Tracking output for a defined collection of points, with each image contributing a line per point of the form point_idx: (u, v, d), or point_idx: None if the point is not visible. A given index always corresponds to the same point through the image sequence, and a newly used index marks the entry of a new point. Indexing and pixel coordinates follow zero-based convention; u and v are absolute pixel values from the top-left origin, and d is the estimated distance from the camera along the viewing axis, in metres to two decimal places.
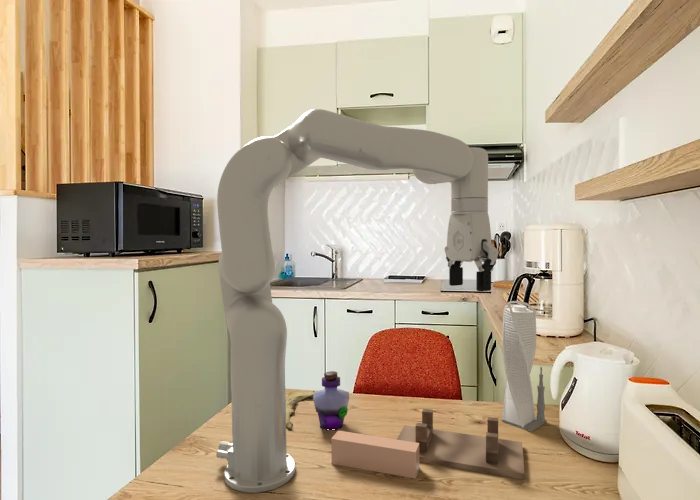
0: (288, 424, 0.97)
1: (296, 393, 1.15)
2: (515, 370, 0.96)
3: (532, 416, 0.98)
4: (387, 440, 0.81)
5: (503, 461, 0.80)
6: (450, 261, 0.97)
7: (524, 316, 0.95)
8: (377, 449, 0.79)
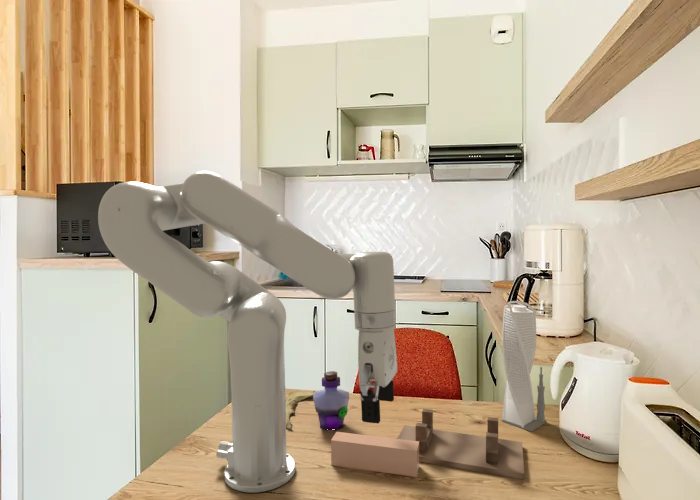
0: (288, 425, 0.97)
1: (296, 393, 1.15)
2: (515, 370, 0.96)
3: (532, 416, 0.98)
4: (387, 440, 0.81)
5: (503, 461, 0.80)
6: (377, 392, 0.75)
7: (524, 316, 0.95)
8: (378, 449, 0.79)
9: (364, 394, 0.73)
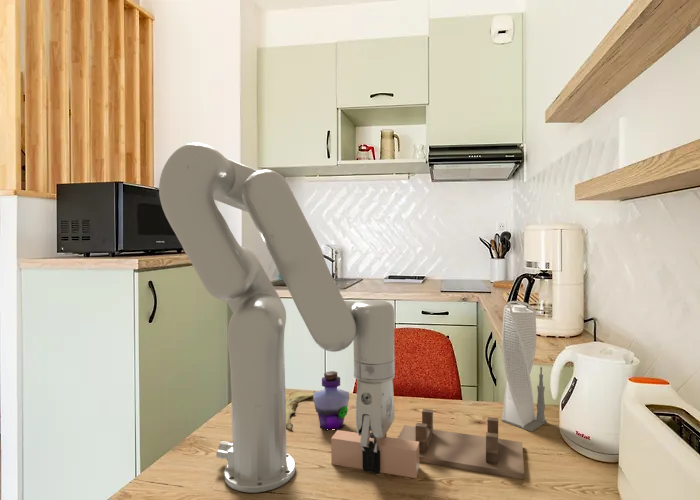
0: (288, 425, 0.97)
1: (297, 393, 1.14)
2: (515, 370, 0.96)
3: (532, 416, 0.98)
4: (387, 439, 0.81)
5: (503, 461, 0.80)
6: (377, 444, 0.78)
7: (524, 316, 0.95)
8: None
9: (366, 447, 0.76)
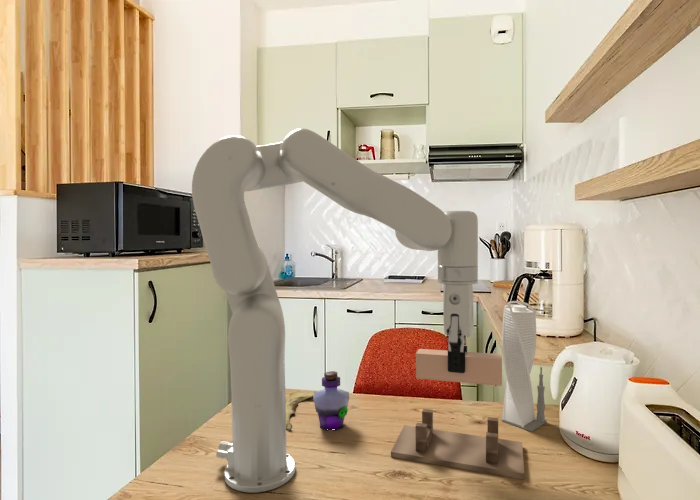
0: (287, 425, 0.96)
1: (297, 394, 1.14)
2: (515, 370, 0.96)
3: (532, 416, 0.98)
4: (470, 353, 0.85)
5: (503, 461, 0.80)
6: (463, 344, 0.82)
7: (524, 316, 0.95)
8: None
9: (454, 346, 0.80)
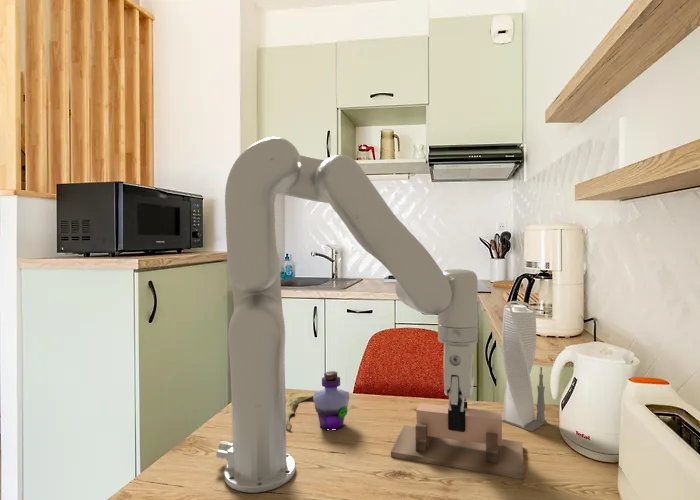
0: (287, 426, 0.96)
1: (297, 394, 1.14)
2: (515, 370, 0.96)
3: (532, 416, 0.98)
4: (470, 410, 0.85)
5: (503, 461, 0.80)
6: (463, 404, 0.82)
7: (524, 316, 0.95)
8: None
9: (454, 406, 0.81)
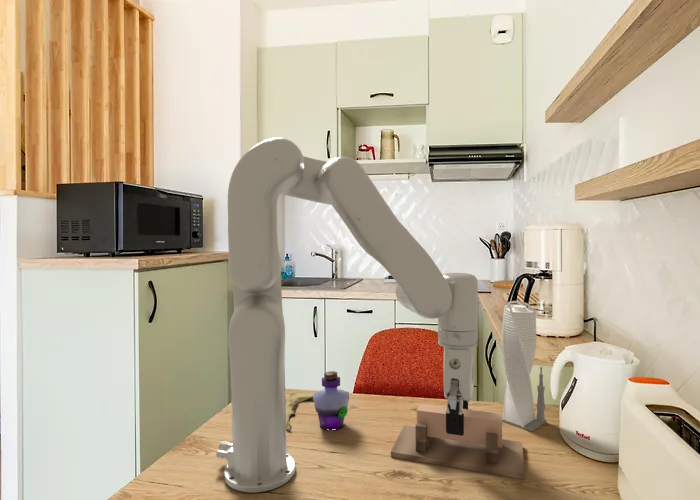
0: (287, 426, 0.96)
1: (298, 394, 1.14)
2: (515, 370, 0.96)
3: (532, 416, 0.98)
4: (471, 412, 0.85)
5: (503, 461, 0.80)
6: (462, 406, 0.80)
7: (524, 316, 0.95)
8: None
9: (452, 408, 0.78)
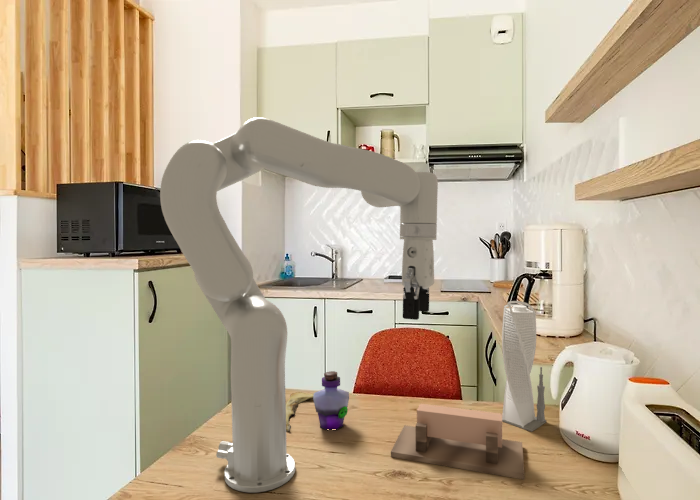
0: (286, 426, 0.96)
1: (298, 394, 1.14)
2: (515, 370, 0.96)
3: (532, 416, 0.98)
4: (471, 412, 0.85)
5: (503, 461, 0.80)
6: (417, 292, 0.85)
7: (524, 316, 0.95)
8: (463, 419, 0.83)
9: (407, 290, 0.83)
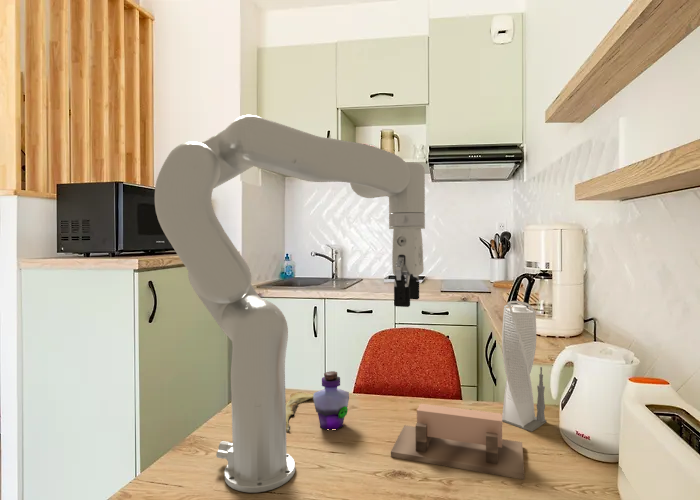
0: (286, 426, 0.96)
1: (298, 394, 1.14)
2: (515, 370, 0.96)
3: (532, 416, 0.98)
4: (471, 412, 0.85)
5: (503, 461, 0.80)
6: (408, 280, 0.87)
7: (524, 316, 0.95)
8: (463, 419, 0.83)
9: (398, 278, 0.85)
